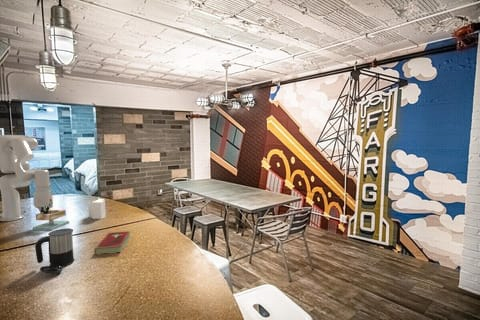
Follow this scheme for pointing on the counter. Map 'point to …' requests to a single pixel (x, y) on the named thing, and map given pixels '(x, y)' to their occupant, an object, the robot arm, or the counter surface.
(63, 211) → the ring
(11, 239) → the counter surface
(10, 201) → the robot arm
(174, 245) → the counter surface
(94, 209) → the corner bracket
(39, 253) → the milk frother
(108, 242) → the hardcover book
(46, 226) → the lid with knob
